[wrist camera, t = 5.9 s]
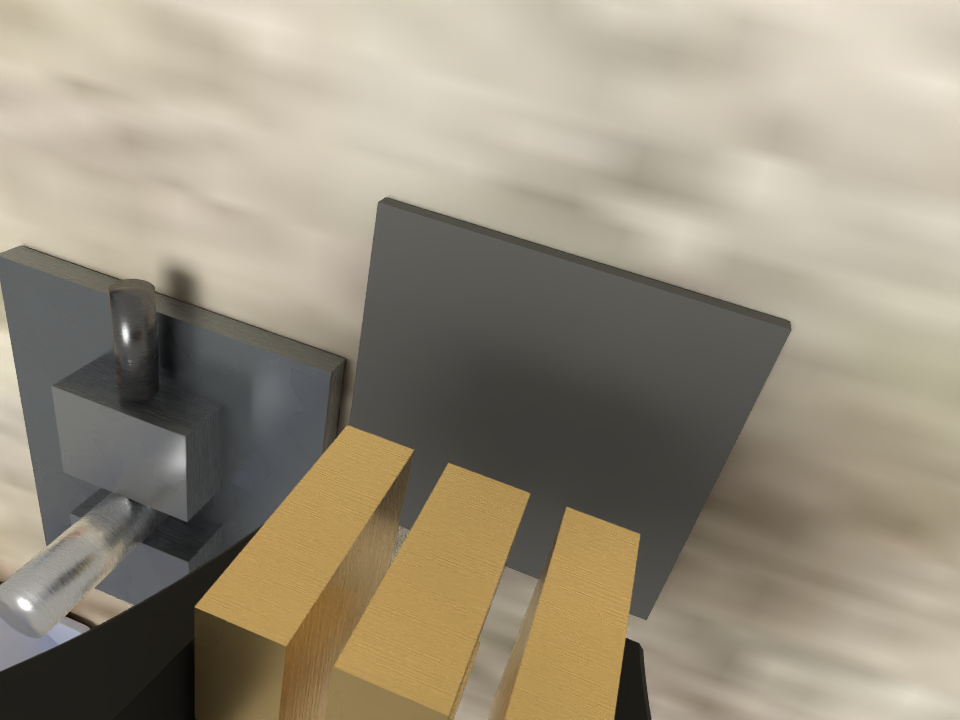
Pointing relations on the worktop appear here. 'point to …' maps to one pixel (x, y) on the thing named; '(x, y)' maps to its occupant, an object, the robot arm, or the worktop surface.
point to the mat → (554, 382)
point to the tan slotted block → (407, 602)
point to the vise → (148, 432)
